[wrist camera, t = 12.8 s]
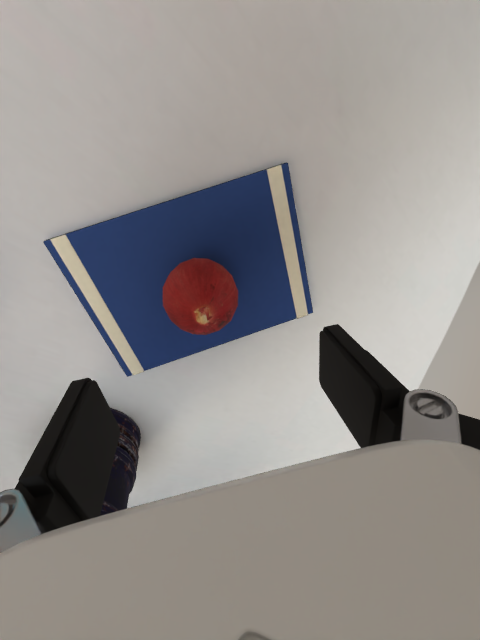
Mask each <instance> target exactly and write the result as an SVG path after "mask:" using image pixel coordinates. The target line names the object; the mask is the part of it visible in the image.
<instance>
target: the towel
mask: <svg viewBox="0 0 480 640" xmlns="http://www.w3.org/2000/svg"><path fill="white" fill-rule="evenodd" d="M44 244H45V245H46V247H47V249H48V250H49V252H50V253H51V255H52V257H53V258H54V260H55V261H56V263H57V265H58V266H59V268H60V269H61V271H62V273H63V274H64V276H65V277H66V279H67V281H68V282H69V284H70V286H71V287H72V289H73V290H74V292H75V294H76V295H77V297H78V298H79V300H80V302H81V303H82V305H83V306H84V308H85V310H86V311H87V313H88V314H89V316H90V318H91V319H92V321H93V322H94V324H95V326H96V327H97V329H98V330H99V332H100V334H101V335H102V337H103V338H104V340H105V342H106V343H107V345H108V346H109V348H110V350H111V351H112V353H113V354H114V356H115V358H116V359H117V361H118V362H119V364H120V366H121V367H122V369H123V370H124V372H125V374H126V375H127V377H128V376H131V375H136V374H139V373H141V372H144V371H145V370H148V369H151V368H154V367H157V366H160V365H163V364H166V363H169V362H171V361H174V360H177V359H180V358H183V357H186V356H189V355H192V354H195V353H197V352H200V351H203V350H206V349H209V348H212V347H215V346H218V345H221V344H224V343H226V342H229V341H232V340H235V339H238V338H241V337H244V336H247V335H250V334H252V333H255V332H258V331H261V330H264V329H267V328H270V327H273V326H276V325H279V324H281V323H284V322H287V321H290V320H293V319H296V318H297V319H298V318H301V317H303V316H306V315H308V314H310V313H313V309H312V303H311V298H310V292H309V286H308V280H307V274H306V268H305V262H304V256H303V250H302V244H301V238H300V232H299V226H298V221H297V215H296V209H295V203H294V197H293V191H292V185H291V179H290V173H289V167H288V163H284V164H281V165H277V166H274V167H271V168H268V169H265V170H262V171H259V172H256V173H253V174H250V175H247V176H243V177H240V178H237V179H234V180H231V181H228V182H225V183H222V184H219V185H216V186H212V187H209V188H206V189H203V190H200V191H197V192H194V193H191V194H188V195H185V196H182V197H178V198H175V199H172V200H169V201H166V202H163V203H160V204H157V205H154V206H151V207H147V208H144V209H141V210H138V211H135V212H132V213H129V214H126V215H123V216H120V217H117V218H113V219H110V220H107V221H104V222H101V223H98V224H95V225H92V226H89V227H86V228H82V229H79V230H76V231H73V232H70V233H67V234H64V235H61V236H58V237H55V238H52V239H48V240H46V241H44ZM192 258H205V259H210V260H212V261H214V262H216V263H218V264H220V265H222V266H223V267H224V268H225V269H226V270H227V271H228V272H229V273H230V274H231V275H232V277H233V279H234V282H235V284H236V287H237V290H238V306H237V308H236V310H235V313H234V315H233V317H232V320H231V321H230V322H229V323H228V324H226V325H225V326H224V327H223V328H222V329H220V330H219V331H216V332H213V333H210V334H207V335H199V334H191V333H189V332H186V331H184V330H181V329H180V328H179V327H178V326H176V325H175V324H174V323H173V322H172V321H171V320H170V318H169V317H168V315H167V313H166V311H165V309H164V307H163V286H164V284H165V282H166V280H167V277H168V275H169V274H170V272H171V271H172V270H173V269H175V268H176V267H177V266H178V265H179V264H180V263H182V262H184V261H187V260H190V259H192Z"/></svg>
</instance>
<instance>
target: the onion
mask: <svg viewBox="0 0 480 640" xmlns="http://www.w3.org/2000/svg"><path fill="white" fill-rule="evenodd" d="M237 306H238V290H237V287H236V284H235V282H234V279H233V277H232V275H231V274H230V273H229V272H228V271H227V270H226V269H225V268H224V267H223V266H222V265H220V264H218V263H216V262H214V261H212V260H210V259H205V258H192V259H190V260H187V261H184V262H182V263H180V264H179V265H178V266H177V267H176V268H175V269H173V270H172V271H171V272H170V274H169V275H168V277H167V280H166V282H165V284H164V286H163V307H164V309H165V311H166V313H167V315H168V317H169V318H170V320H171V321H172V322H173V323H174V324H175V325H176V326H178V327H179V328H180V329H181V330H184V331H186V332H189V333H191V334H199V335H207V334H210V333H213V332H216V331H219V330H220V329H222V328H223V327H224V326H225V325H226V324H228V323H229V322H230V321H231V320H232V317H233V315H234V313H235V310H236V308H237Z"/></svg>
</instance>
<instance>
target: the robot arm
mask: <svg viewBox="0 0 480 640" xmlns="http://www.w3.org/2000/svg"><path fill="white" fill-rule="evenodd" d="M319 381H320V385H321V387H322V389H323V390H324V392H325V393H326V395H327V396H328V398H329V399H330V401H331V402H332V404H333V406H334V407H335V409H336V410H337V412H338V413H339V415H340V416H341V418H342V419H343V421H344V423H345V424H346V426H347V427H348V429H349V430H350V432H351V433H352V435H353V436H354V438H355V439H356V441H357V443H358V444H359V446H360V447H361V448H360V449H356V450H352V451H347V452H343V453H339V454H335V455H331V456H327V457H323V458H319V459H315V460H311V461H307V462H303V463H299V464H295V465H291V466H287V467H284V468H280V469H276V470H272V471H268V472H264V473H260V474H256V475H253V476H249V477H245V478H241V479H237V480H233V481H229V482H226V483H222V484H218V485H214V486H210V487H207V488H203V489H199V490H195V491H191V492H188V493H184V494H180V495H176V496H173V497H169V498H165V499H161V500H158V501H154V502H150V503H146V504H143V505H139V506H135V507H131V508H128V509H124V510H120V511H116V512H113V513H109V514H106V515H102V516H100V514H101V509H102V505H103V501H104V497H105V493H106V489H107V485H108V481H109V477H110V473H111V469H112V465H113V461H114V457H115V452H116V448H117V444H118V440H119V436H120V428H119V425H118V423H117V421H116V419H115V417H114V416H113V414H112V412H111V410H110V408H109V406H108V404H107V402H106V400H105V398H104V396H103V394H102V392H101V390H100V388H99V386H98V384H97V382H96V381H94V380H93V381H92V380H91V379H90V378H85V379H81V380H76V381H73V382H72V383H71V384H70V386H69V388H68V389H67V391H66V393H65V395H64V397H63V399H62V400H61V402H60V404H59V406H58V408H57V410H56V412H55V413H54V415H53V417H52V419H51V421H50V423H49V425H48V426H47V428H46V430H45V432H44V434H43V436H42V437H41V439H40V441H39V443H38V445H37V447H36V449H35V450H34V452H33V454H32V456H31V458H30V460H29V461H28V463H27V465H26V467H25V469H24V471H23V473H22V474H21V476H20V478H19V482H18V484H17V486H16V488H15V489H9V490H4V491H2V492H0V640H480V420H478V419H475V418H472V417H468V416H465V415H461V414H458V411H457V408H456V406H455V405H454V403H453V402H452V401H451V400H449V399H448V398H447V397H446V396H444V395H441V394H440V393H437V392H434V391H431V390H425V389H417V390H413V391H409V390H408V389H407V388H406V387H404V386H403V385H402V384H401V383H400V382H399V381H398V380H397V379H396V378H395V377H394V376H393V375H392V374H391V373H390V372H389V371H388V370H387V369H386V368H385V367H384V366H383V365H382V364H381V363H379V362H378V361H377V360H376V359H375V358H374V357H373V356H372V355H371V354H370V353H369V352H368V351H366V350H364V349H363V348H362V347H361V346H360V345H359V344H358V343H357V342H356V341H355V340H354V339H353V338H352V337H351V336H350V335H349V334H348V333H347V332H346V331H345V330H344V329H343V328H342V327H340V326H339V325H338V324H336V325H332V326H327V327H324V329H323V331H321V332H320V356H319Z"/></svg>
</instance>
